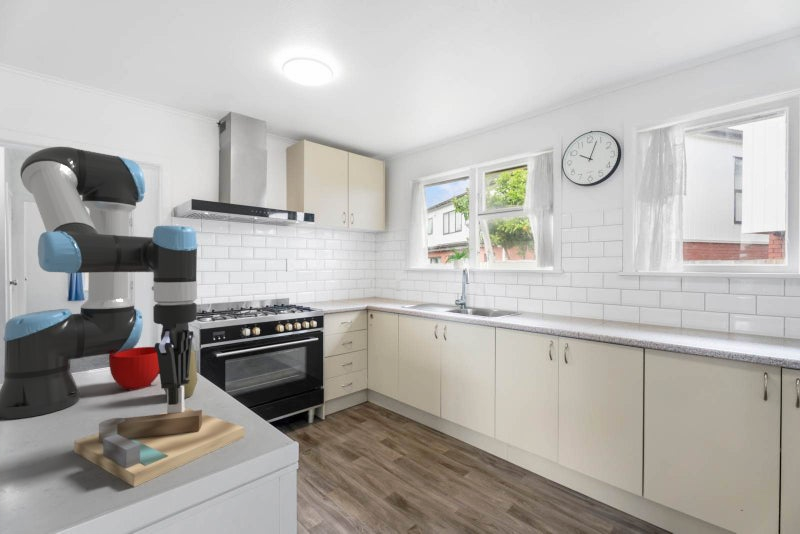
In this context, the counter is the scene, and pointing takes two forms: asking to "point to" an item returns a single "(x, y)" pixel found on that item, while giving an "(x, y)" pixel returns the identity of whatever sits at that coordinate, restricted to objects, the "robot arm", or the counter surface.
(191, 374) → the squeeze bottle
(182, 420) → the hinged leg
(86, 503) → the counter surface
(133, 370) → the ceramic cup
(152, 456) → the wooden flat board
